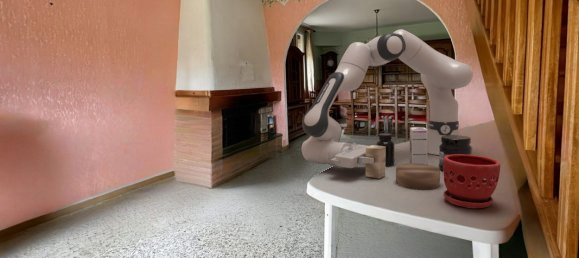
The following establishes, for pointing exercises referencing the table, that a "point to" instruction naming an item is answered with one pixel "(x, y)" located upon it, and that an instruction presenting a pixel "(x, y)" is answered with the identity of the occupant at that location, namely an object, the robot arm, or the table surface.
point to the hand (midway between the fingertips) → (378, 158)
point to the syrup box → (418, 145)
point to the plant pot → (470, 180)
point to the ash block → (376, 161)
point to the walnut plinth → (418, 176)
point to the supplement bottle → (387, 147)
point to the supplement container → (454, 147)
